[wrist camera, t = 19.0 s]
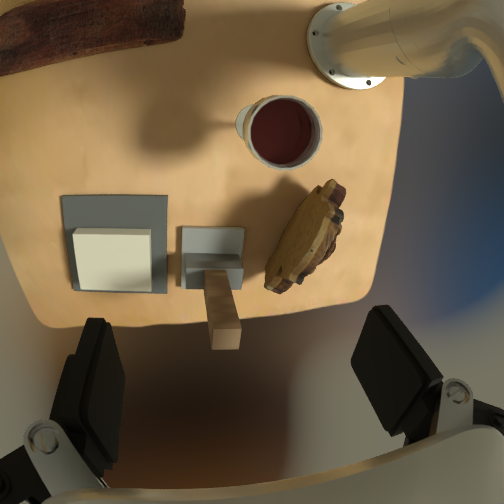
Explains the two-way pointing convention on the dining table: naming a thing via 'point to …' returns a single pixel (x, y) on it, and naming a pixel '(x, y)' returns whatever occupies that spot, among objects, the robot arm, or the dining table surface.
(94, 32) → the wooden tablet
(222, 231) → the pad
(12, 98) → the dining table surface
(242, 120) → the wineglass
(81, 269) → the tile
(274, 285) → the wooden carving
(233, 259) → the brown grey t-shaped piece
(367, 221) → the dining table surface
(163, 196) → the rubber mat
